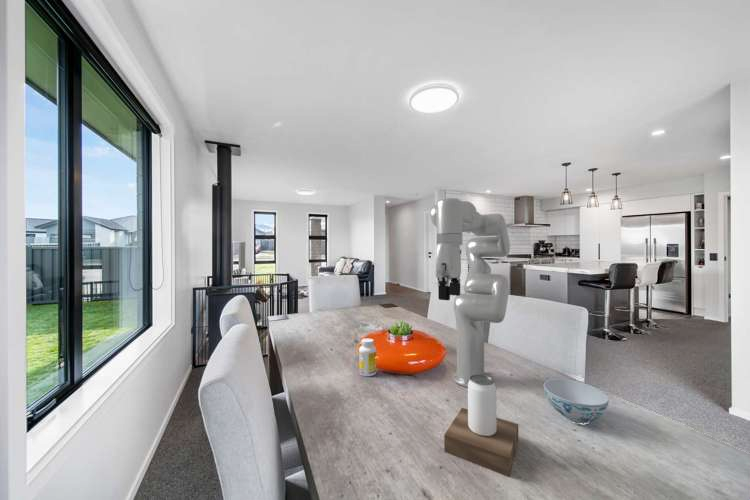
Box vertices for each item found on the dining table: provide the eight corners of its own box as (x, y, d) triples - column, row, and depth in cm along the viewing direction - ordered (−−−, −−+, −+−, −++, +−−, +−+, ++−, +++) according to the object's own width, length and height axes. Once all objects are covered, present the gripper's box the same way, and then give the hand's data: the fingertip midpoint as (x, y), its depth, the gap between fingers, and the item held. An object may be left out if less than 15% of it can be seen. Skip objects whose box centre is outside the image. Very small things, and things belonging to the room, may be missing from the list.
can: (499, 439, 66) (498, 386, 66) (469, 435, 67) (469, 384, 67) (493, 422, 72) (493, 374, 72) (466, 419, 74) (466, 372, 74)
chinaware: (596, 408, 86) (595, 382, 86) (620, 440, 71) (619, 409, 72) (539, 400, 91) (538, 376, 91) (551, 428, 76) (550, 399, 76)
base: (462, 422, 79) (462, 407, 79) (518, 440, 72) (518, 424, 72) (444, 451, 68) (444, 434, 68) (509, 477, 60) (509, 457, 60)
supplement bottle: (378, 370, 114) (377, 338, 114) (374, 377, 108) (374, 343, 108) (361, 369, 115) (361, 337, 115) (357, 376, 109) (357, 342, 109)
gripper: (447, 241, 96) (447, 292, 96) (426, 240, 81) (426, 300, 81) (469, 240, 92) (470, 294, 92) (452, 239, 77) (452, 303, 77)
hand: (449, 297), depth 86 cm, fingers open, 9 cm apart
